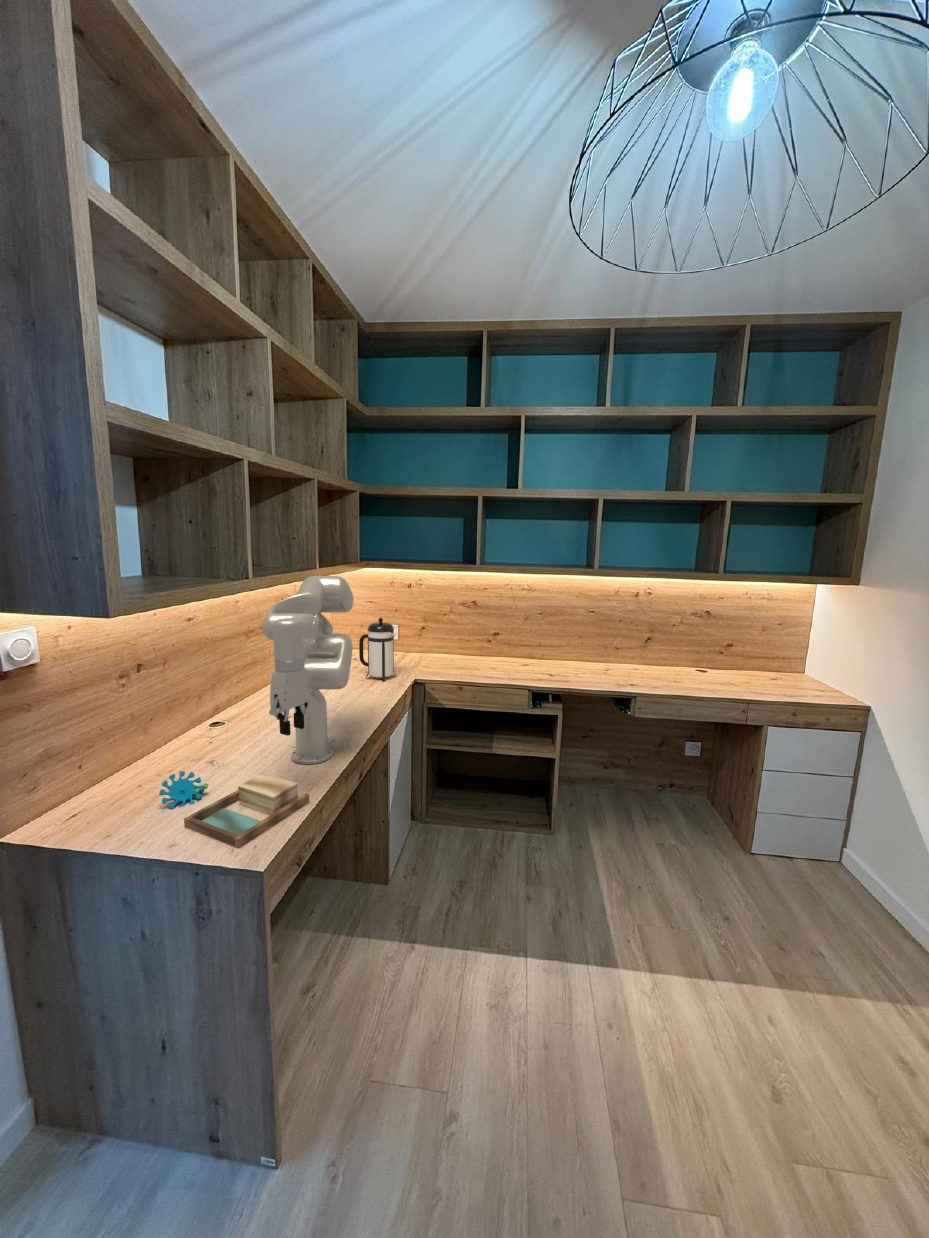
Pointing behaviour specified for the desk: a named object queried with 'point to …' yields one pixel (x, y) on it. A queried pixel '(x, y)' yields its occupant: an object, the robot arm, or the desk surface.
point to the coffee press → (379, 650)
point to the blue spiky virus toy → (182, 789)
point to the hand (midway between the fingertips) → (292, 730)
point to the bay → (236, 820)
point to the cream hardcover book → (267, 793)
